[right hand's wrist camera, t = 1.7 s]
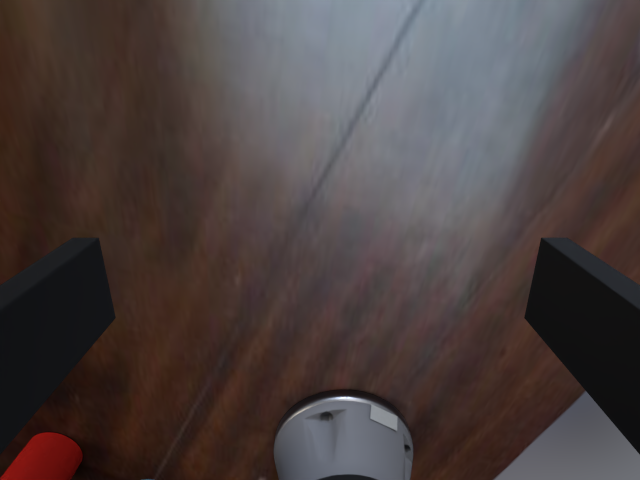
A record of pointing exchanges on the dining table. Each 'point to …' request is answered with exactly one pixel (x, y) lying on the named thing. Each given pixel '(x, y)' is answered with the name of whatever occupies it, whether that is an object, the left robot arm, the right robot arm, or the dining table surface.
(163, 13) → the dining table surface
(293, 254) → the dining table surface
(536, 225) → the dining table surface
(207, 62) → the dining table surface
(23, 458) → the tin
